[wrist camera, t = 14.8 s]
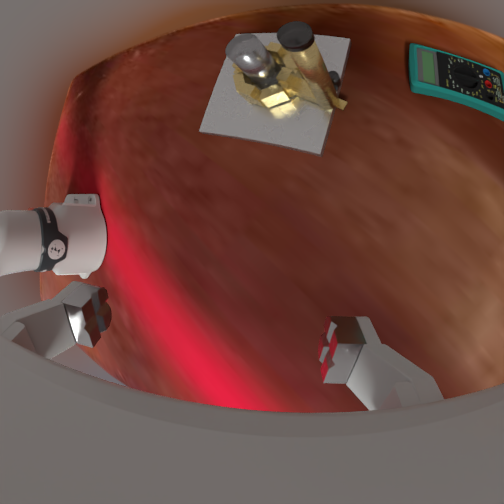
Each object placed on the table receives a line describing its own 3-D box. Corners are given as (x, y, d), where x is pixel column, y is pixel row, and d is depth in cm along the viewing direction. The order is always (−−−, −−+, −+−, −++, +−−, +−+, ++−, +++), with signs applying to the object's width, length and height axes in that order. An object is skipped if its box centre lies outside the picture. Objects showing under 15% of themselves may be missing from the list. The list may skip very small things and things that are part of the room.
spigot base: (203, 133, 38) (157, 112, 29) (239, 38, 34) (205, 4, 25) (334, 160, 30) (316, 131, 21) (362, 45, 27) (351, -3, 18)
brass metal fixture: (232, 95, 34) (169, 50, 22) (261, 50, 31) (210, -6, 19) (322, 132, 29) (285, 74, 17) (353, 79, 27) (330, 6, 15)
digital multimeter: (508, 125, 20) (516, 117, 17) (408, 93, 26) (410, 82, 23) (502, 80, 19) (508, 71, 16) (407, 51, 25) (408, 39, 22)
